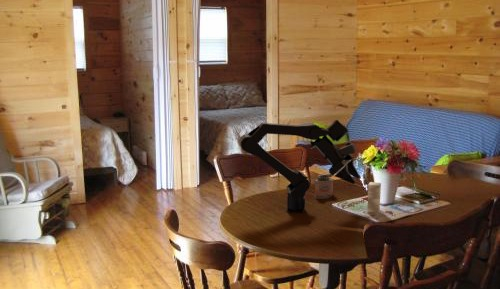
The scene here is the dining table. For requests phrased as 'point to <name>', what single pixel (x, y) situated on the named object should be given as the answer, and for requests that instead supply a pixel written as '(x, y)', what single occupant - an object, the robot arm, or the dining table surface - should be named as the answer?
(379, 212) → the plinth
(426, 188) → the dining table surface
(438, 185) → the dining table surface
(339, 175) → the robot arm
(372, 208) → the block
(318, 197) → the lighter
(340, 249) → the dining table surface
